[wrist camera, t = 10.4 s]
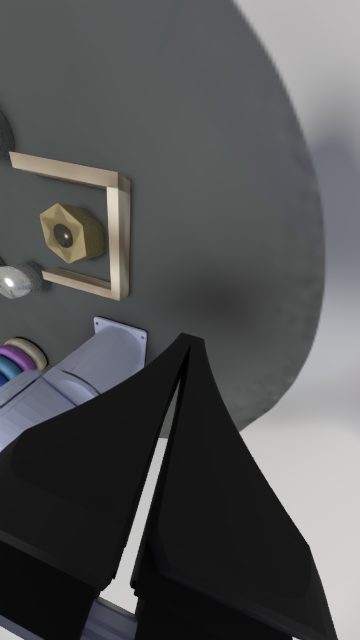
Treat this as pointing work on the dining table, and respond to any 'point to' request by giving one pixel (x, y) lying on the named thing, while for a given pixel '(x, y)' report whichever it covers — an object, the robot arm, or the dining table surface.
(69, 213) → the brass nut
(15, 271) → the cylinder
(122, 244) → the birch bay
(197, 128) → the dining table surface
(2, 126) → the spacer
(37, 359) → the stacking toy
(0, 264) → the cylinder
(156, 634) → the robot arm
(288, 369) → the dining table surface
